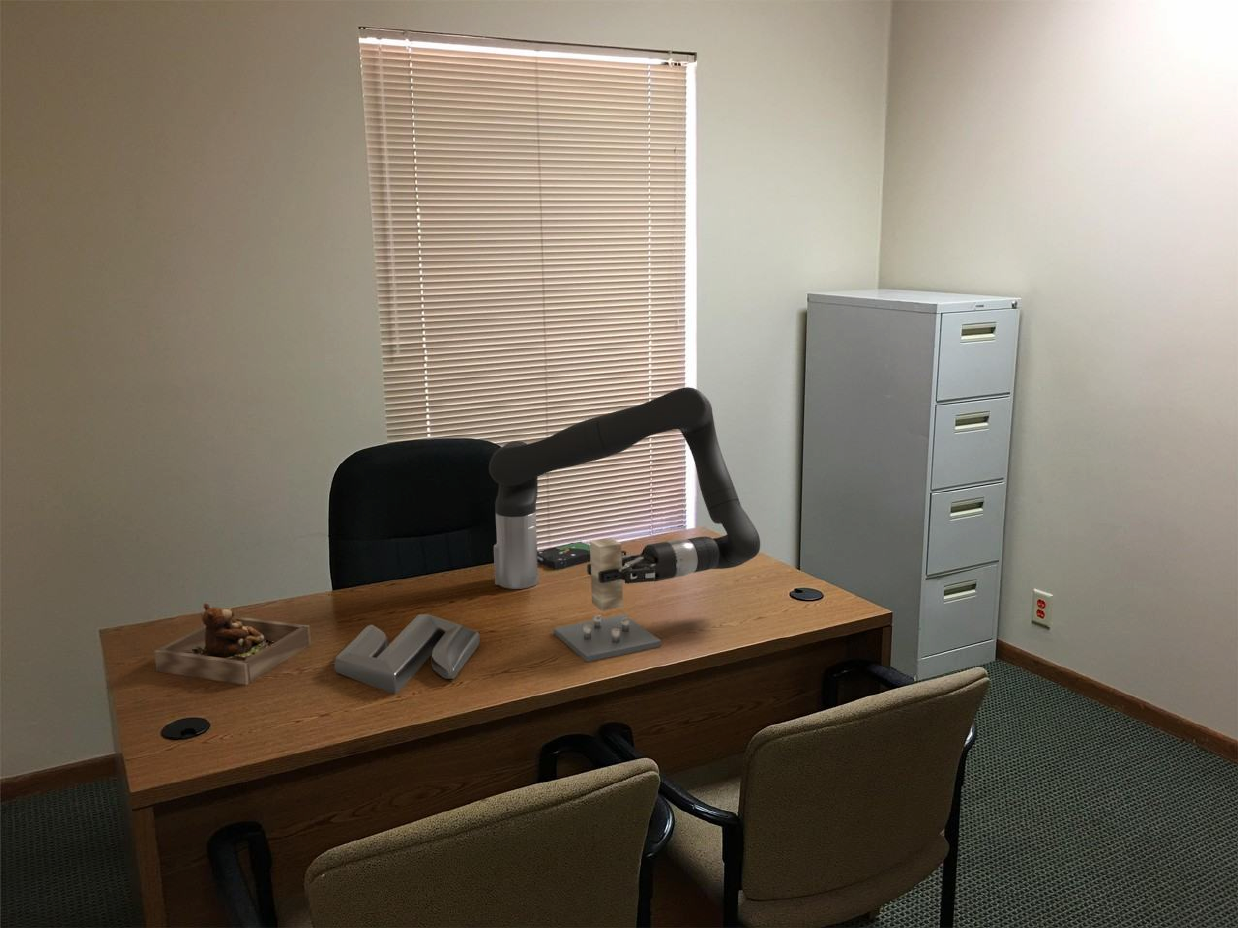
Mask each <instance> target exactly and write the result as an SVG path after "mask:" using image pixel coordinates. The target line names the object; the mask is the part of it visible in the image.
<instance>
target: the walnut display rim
mask: <svg viewBox="0 0 1238 928" xmlns="http://www.w3.org/2000/svg"><path fill="white" fill-rule="evenodd" d="M234 617H235V618H236V620H237V621H240V622H242V626H249V627H252V628H253V629H255V630H257V631H258V632H260V633H261V634H262V635H263V636H264V637H265V638H264V639H265V640H268V641H267V642H269V641H274V642H272V643H271V644H270V645H268V646H267V647H266V648H265V649H263V650H261V651H260V652H258V653H256V654H255V655H253V656H251V657H250V658H248V659H246V660H244V661H238V660H231V659H225V658H218V657H211V656H204V655H197V654H193V651H192V649H193V648H197V647H196V646H198V647H202V646H205V632H206V631H205V630H206V625H205V624H203V625H202V626H200V627H198V628H196V629H195V630H193V631H190V632H188V633H187V634H185V635H184V636H181V637H179V638H177V639H176V640H174V641H172V642H169V643H168V644H165V645H164V646H162V647H159V648H158V649H156V650H154V651H153V653H154V655H153V656H154V661H155V663H154V664H155V671H156V672H158V671H159V673H165V674H166V673H167V674H171V675H172V674H173V675H179V676H185V677H190V678H191V677H193V678H197V679H198V678H199V679H204V678H205V680H211V681H217V682H218V681H219V682H224V683H229V684H230V683H231V684H237V685H243V686H244V685H245V686H248V685H249V684H250V683H252V682H254V681H255V680H257V679H258V678H260V677H262V676H263V675H265V674H267V673H268V672H270V671H272V670H273V669H275V668H276V667H278V666H279V665H281V664H282V663H284V662H286V661H287V660H289V659H290V658H292V657H293V656H295V655H297V654H298V653H300V652H301V651H303V650H305V649H306V648H308V647H309V646H312V640H311V629H310V626H311V625H307V624H299V623H293V622H292V623H291V622H286V621H285V622H284V621H275V620H267V619H260V618H254V617H245V616H244V617H243V616H236V615H234Z"/></svg>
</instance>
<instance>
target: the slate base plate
mask: <svg viewBox="0 0 1238 928" xmlns="http://www.w3.org/2000/svg"><path fill="white" fill-rule="evenodd" d="M553 634H554V635H555V636H556V637H558V639H560V641H562V642H563V643H564V644H565V645H566V646H567V647H569V648H570V649H571V650H572V651H573V652H575V653H576V654H577V655H578V656H579V657H580V658H582V660H584V661H585V663H591V662H595V661H599V660H604V659H610V658H614V657H618V656H623V655H628V654H632V653H638V652H641V651H647V650H651V649H655V648H660V647H662V640H661V639H659V638H658V637H656V635H654V634H652V633H651V632H650V631H648V630H647V629H645V628H644V627H643V626H641V625H639V624H638V622H636V621H634V620H633V619H631V618H630V617H629V616H628V615H626V614H619V615H614V616H609V617H604V618H602V615H601V614H600V613H599V614H597V613H596V614H593V619H592V620H589V621H588V620H587V621H583V622H579V623H572V624H568V625H567V624H566V625H561V626H558V627H554V628H553ZM646 649H647V650H646Z"/></svg>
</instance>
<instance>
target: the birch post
mask: <svg viewBox="0 0 1238 928" xmlns="http://www.w3.org/2000/svg"><path fill="white" fill-rule="evenodd" d="M589 545H590V561H591V562H590V564H591V575H590V582H591V583H590V584H591V585H590V586H591V604H592V605H593V606H594V607H596V608H597V609H599V610H600V611H607V610H613V609H617V608H618V609H619V608H623V606H624V602H623V601H624V599H623V597H624V596H623V581H618V580H616V581H610V582H605V583H600V582H599V580H598V573H599V572H600V571H605V570H611V569H617V570H618V568H620V567H622V555H621V551H622V543H621V542H619V541H617V540H616V539H614V538H613V537H606V538H601V539H595V540H589Z"/></svg>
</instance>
